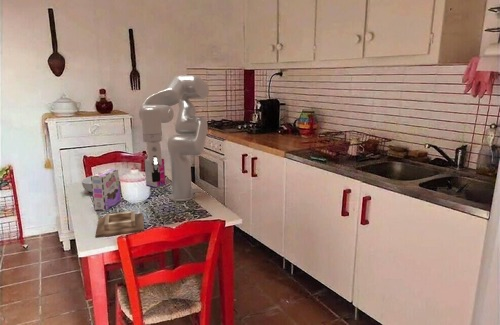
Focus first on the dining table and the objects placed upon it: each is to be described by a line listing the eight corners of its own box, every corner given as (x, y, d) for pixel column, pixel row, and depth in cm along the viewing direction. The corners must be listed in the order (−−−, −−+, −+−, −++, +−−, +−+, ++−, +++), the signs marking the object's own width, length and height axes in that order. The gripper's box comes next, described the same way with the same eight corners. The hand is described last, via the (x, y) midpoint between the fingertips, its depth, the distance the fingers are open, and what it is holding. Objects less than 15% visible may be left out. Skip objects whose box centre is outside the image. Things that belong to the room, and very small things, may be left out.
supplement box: (156, 188, 152) (154, 161, 149) (145, 186, 155) (143, 159, 153) (166, 184, 157) (164, 158, 154) (156, 182, 160) (154, 156, 157)
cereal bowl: (100, 185, 208) (98, 172, 206) (123, 188, 202) (122, 175, 200) (75, 194, 193) (74, 181, 191) (100, 197, 187) (99, 184, 185)
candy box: (105, 211, 168) (101, 176, 165) (93, 210, 170) (89, 175, 166) (121, 201, 182) (118, 168, 178) (110, 200, 183) (107, 168, 179)
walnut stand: (142, 215, 163) (142, 207, 163) (144, 231, 147) (143, 223, 146) (98, 220, 158) (97, 212, 157) (95, 237, 141) (94, 229, 141)
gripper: (164, 140, 144) (166, 183, 149) (160, 133, 160) (162, 172, 165) (144, 141, 142) (147, 185, 146) (142, 134, 158) (145, 174, 162)
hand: (155, 178), depth 155 cm, fingers closed on supplement box, 7 cm apart
